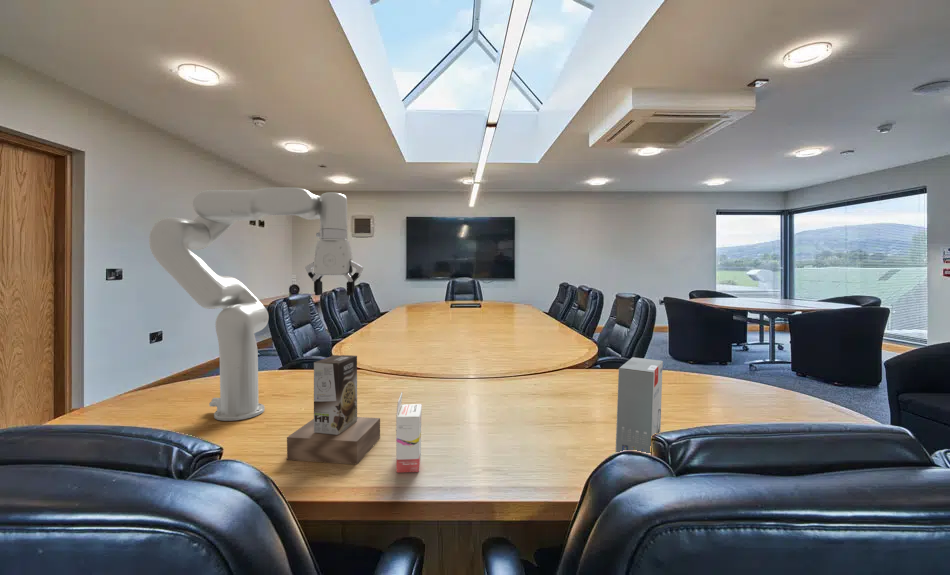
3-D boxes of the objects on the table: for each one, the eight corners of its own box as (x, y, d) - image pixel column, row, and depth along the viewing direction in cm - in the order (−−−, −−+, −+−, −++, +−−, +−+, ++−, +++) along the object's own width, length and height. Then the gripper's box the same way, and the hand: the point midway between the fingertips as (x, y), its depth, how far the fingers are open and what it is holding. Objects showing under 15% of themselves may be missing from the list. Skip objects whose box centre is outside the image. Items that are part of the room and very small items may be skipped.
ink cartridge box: (420, 472, 84) (420, 402, 83) (395, 473, 84) (395, 402, 83) (422, 454, 93) (422, 390, 92) (399, 454, 92) (399, 390, 92)
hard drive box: (651, 462, 89) (653, 372, 88) (615, 454, 93) (616, 367, 92) (661, 438, 102) (663, 359, 101) (629, 432, 106) (630, 356, 106)
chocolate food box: (339, 435, 90) (338, 363, 90) (312, 433, 91) (312, 361, 91) (358, 420, 99) (358, 355, 99) (334, 418, 100) (333, 353, 100)
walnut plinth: (287, 459, 89) (286, 437, 89) (319, 434, 103) (319, 415, 103) (357, 464, 87) (356, 441, 87) (380, 438, 101) (380, 418, 101)
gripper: (298, 235, 116) (299, 295, 117) (357, 235, 114) (357, 296, 115) (312, 237, 123) (313, 294, 124) (367, 237, 121) (367, 294, 122)
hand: (334, 295), depth 119 cm, fingers open, 9 cm apart
